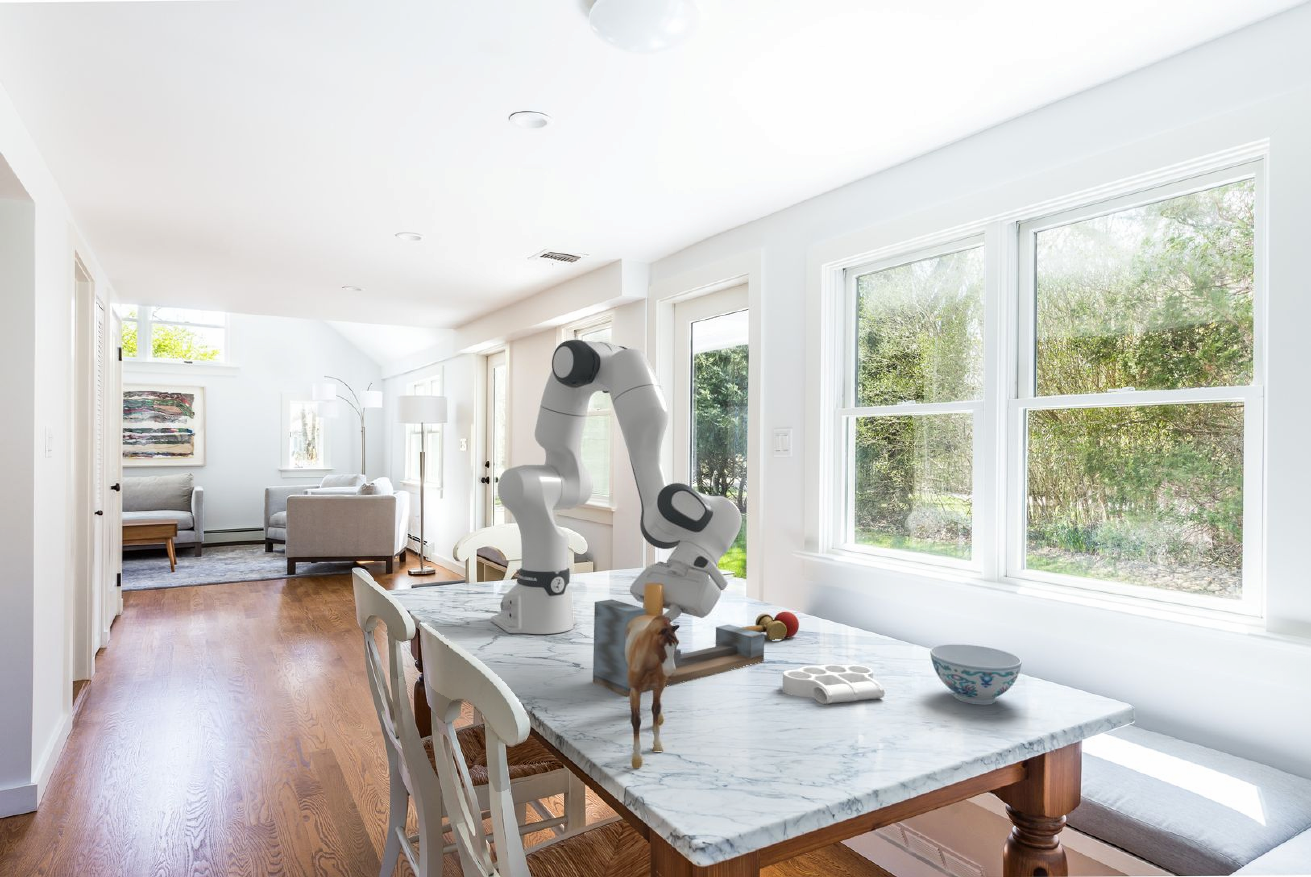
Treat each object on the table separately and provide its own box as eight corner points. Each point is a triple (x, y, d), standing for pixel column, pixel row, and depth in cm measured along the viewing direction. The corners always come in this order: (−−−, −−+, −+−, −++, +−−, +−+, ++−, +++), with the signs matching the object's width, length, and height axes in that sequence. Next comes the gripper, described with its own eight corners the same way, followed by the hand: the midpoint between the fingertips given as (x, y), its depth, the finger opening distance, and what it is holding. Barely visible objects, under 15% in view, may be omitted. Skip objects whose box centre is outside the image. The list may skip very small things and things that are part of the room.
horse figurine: (676, 783, 97) (679, 623, 97) (616, 781, 97) (620, 622, 97) (673, 702, 128) (675, 581, 128) (627, 701, 128) (630, 580, 128)
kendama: (740, 653, 165) (808, 635, 172) (734, 624, 166) (802, 608, 173) (724, 650, 172) (790, 634, 179) (719, 623, 173) (785, 607, 180)
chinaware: (974, 682, 143) (975, 641, 143) (1041, 708, 129) (1041, 663, 129) (911, 689, 137) (912, 647, 137) (973, 717, 123) (974, 670, 123)
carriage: (624, 660, 141) (626, 583, 141) (652, 654, 146) (654, 579, 146) (651, 670, 135) (653, 589, 135) (680, 663, 140) (682, 585, 140)
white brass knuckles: (810, 710, 126) (769, 684, 140) (899, 701, 132) (851, 677, 146) (811, 690, 126) (769, 666, 140) (900, 682, 132) (852, 659, 146)
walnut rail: (590, 682, 137) (592, 602, 138) (728, 651, 161) (729, 582, 161) (627, 698, 129) (629, 612, 129) (767, 662, 153) (768, 590, 153)
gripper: (647, 550, 153) (608, 604, 147) (718, 563, 138) (678, 624, 131) (663, 570, 156) (625, 624, 149) (734, 585, 140) (696, 645, 134)
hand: (650, 624), depth 140 cm, fingers closed on carriage, 3 cm apart
